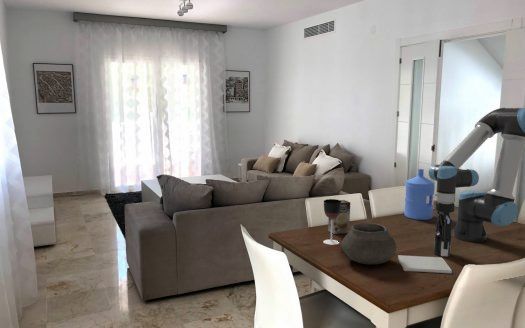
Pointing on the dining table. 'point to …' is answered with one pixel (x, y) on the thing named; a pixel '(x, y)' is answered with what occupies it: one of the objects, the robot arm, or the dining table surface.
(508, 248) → the dining table surface
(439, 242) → the supplement bottle
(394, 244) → the clay pot
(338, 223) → the coffee box
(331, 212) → the wineglass
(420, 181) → the water jug
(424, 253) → the dining table surface
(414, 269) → the stone board
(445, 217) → the robot arm
